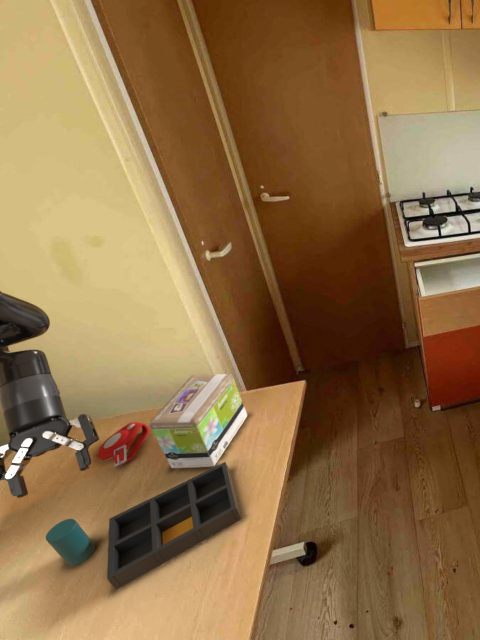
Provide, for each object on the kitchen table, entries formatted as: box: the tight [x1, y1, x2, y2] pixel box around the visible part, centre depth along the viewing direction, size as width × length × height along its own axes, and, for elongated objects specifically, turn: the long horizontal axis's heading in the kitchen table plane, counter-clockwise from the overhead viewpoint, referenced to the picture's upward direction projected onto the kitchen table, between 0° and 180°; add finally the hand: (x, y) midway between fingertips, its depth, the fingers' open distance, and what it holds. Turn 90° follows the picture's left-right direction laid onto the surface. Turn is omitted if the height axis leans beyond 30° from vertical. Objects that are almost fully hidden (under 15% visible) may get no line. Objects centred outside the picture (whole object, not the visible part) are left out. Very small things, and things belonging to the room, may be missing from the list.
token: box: [45, 518, 96, 567], centre depth 78 cm, size 4×4×8 cm
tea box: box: [148, 373, 248, 469], centre depth 99 cm, size 15×10×15 cm
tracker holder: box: [96, 421, 150, 468], centre depth 100 cm, size 12×4×10 cm
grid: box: [106, 461, 242, 590], centre depth 84 cm, size 20×13×4 cm
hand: (55, 482), depth 80 cm, fingers open, 8 cm apart
